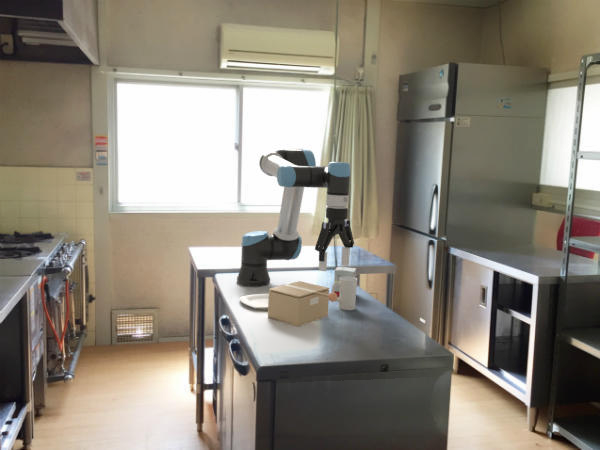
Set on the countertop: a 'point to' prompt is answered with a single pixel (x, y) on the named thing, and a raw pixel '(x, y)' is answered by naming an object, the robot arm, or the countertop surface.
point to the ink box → (343, 273)
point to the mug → (346, 292)
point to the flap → (303, 290)
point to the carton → (297, 308)
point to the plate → (256, 301)
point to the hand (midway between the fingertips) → (334, 268)
